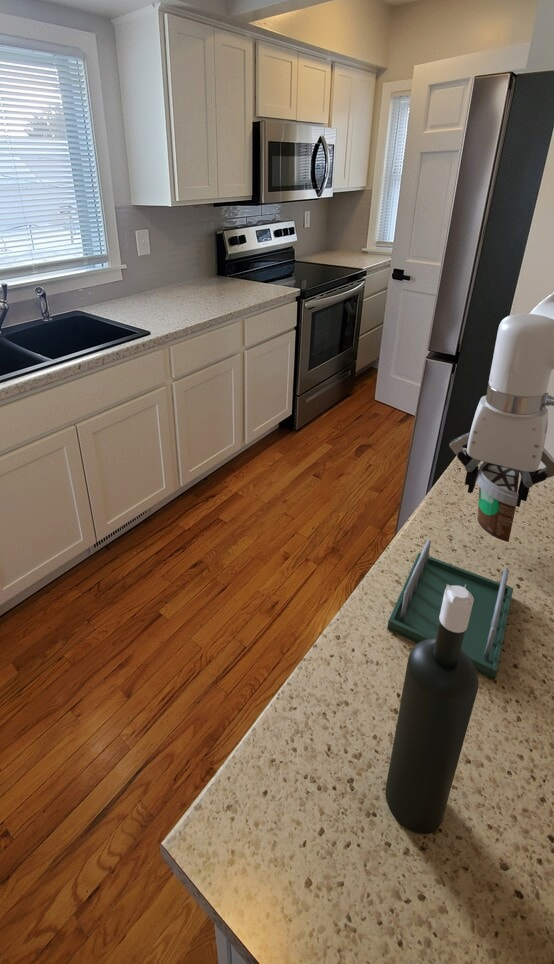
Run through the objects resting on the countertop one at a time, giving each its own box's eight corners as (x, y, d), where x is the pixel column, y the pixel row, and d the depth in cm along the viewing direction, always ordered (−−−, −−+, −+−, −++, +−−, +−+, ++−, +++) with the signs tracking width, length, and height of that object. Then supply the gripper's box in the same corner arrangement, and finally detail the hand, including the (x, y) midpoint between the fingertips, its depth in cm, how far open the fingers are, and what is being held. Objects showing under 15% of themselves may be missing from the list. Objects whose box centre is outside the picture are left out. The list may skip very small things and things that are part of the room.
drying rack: (510, 596, 75) (520, 564, 72) (494, 680, 63) (504, 645, 60) (417, 560, 82) (422, 529, 79) (387, 629, 70) (391, 595, 67)
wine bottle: (403, 758, 55) (442, 554, 43) (453, 802, 51) (512, 593, 39) (374, 798, 51) (408, 590, 39) (425, 850, 48) (480, 636, 35)
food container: (474, 494, 88) (481, 447, 84) (513, 503, 85) (522, 454, 81) (464, 536, 79) (472, 485, 75) (507, 548, 76) (518, 495, 72)
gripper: (585, 399, 71) (557, 499, 78) (457, 378, 80) (444, 469, 87) (584, 421, 65) (554, 526, 73) (447, 395, 74) (433, 491, 82)
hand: (494, 494), depth 80 cm, fingers closed on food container, 6 cm apart
